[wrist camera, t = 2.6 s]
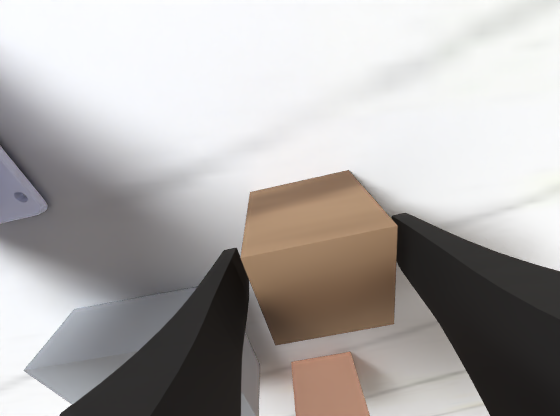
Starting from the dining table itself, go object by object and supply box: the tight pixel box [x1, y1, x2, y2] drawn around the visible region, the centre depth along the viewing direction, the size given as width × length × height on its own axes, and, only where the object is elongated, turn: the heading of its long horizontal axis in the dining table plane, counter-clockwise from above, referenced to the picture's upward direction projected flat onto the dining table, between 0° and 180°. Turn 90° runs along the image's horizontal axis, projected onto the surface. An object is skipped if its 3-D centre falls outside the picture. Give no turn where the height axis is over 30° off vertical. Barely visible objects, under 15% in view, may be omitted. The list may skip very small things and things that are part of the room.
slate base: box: [24, 287, 260, 416], centre depth 16 cm, size 10×10×4 cm
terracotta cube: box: [291, 352, 370, 416], centre depth 19 cm, size 5×5×5 cm
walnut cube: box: [241, 170, 398, 345], centre depth 11 cm, size 5×5×5 cm
